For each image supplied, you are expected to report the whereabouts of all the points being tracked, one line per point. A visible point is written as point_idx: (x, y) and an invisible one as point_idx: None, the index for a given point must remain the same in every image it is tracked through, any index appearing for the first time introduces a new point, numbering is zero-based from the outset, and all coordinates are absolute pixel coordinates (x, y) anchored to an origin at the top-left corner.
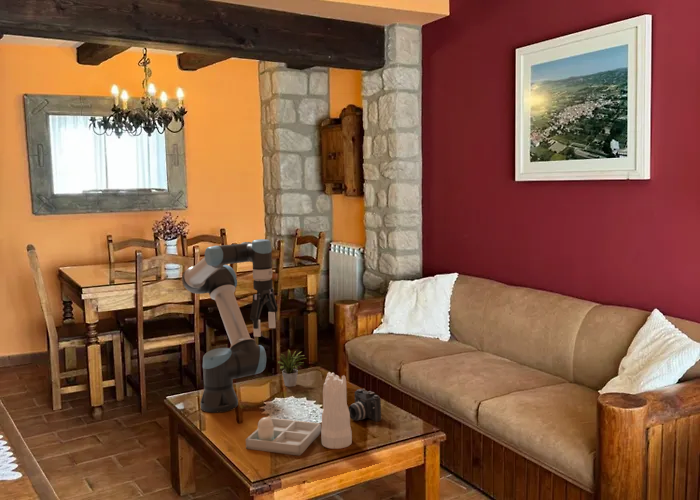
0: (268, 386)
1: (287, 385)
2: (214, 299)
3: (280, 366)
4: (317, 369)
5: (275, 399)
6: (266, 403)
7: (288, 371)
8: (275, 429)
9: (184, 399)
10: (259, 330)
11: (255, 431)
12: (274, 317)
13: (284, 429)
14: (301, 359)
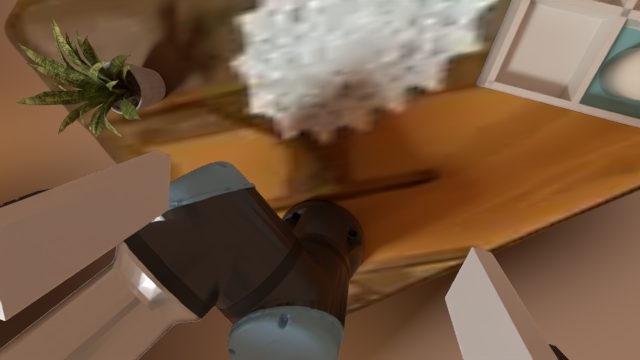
0: (175, 145)
1: (163, 92)
2: None
3: (130, 118)
4: (13, 23)
5: (265, 109)
6: (296, 129)
7: (127, 92)
8: (527, 62)
9: None
10: (518, 300)
11: (600, 113)
12: (71, 197)
13: (532, 31)
14: (59, 47)
